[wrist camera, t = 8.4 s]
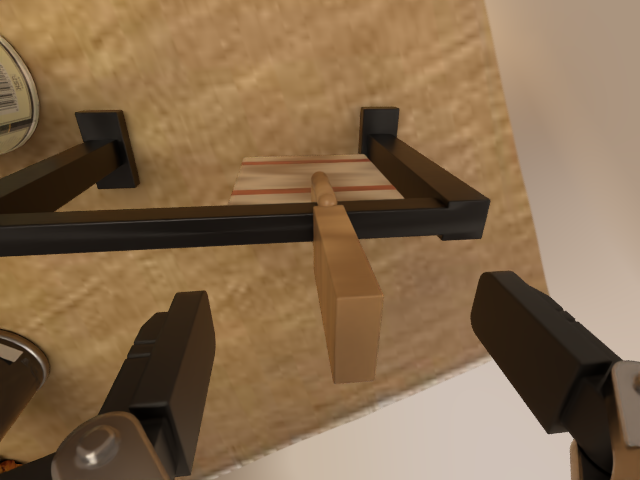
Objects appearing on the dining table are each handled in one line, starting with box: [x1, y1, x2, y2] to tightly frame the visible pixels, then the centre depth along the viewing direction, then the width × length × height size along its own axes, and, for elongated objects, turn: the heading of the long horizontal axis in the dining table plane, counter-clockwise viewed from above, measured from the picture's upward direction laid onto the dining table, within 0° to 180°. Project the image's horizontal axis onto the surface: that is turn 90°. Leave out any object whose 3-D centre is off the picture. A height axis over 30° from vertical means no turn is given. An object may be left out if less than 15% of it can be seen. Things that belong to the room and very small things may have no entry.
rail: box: [0, 107, 490, 257], centre depth 22 cm, size 25×6×17 cm, turn 90°
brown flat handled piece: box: [228, 154, 405, 384], centre depth 18 cm, size 9×4×19 cm, turn 90°
